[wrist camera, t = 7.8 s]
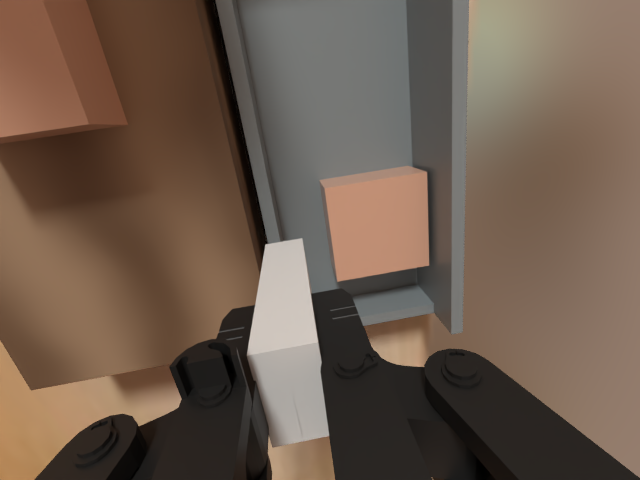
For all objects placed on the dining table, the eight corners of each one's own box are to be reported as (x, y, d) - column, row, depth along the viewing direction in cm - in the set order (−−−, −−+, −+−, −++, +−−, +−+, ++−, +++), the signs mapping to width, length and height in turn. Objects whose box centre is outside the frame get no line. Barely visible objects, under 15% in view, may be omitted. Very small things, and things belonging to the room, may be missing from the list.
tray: (288, 310, 20) (289, 365, 16) (205, -86, 13) (163, -200, 9) (422, 286, 21) (462, 332, 16) (409, -111, 14) (473, -231, 9)
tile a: (429, 265, 17) (411, 248, 19) (427, 171, 15) (408, 165, 17) (337, 281, 17) (330, 262, 19) (324, 188, 15) (319, 180, 17)
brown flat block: (86, 333, 19) (31, 390, 15) (-87, -20, 13) (-261, -89, 9) (277, 298, 20) (276, 344, 16) (200, -56, 14) (163, -136, 10)
